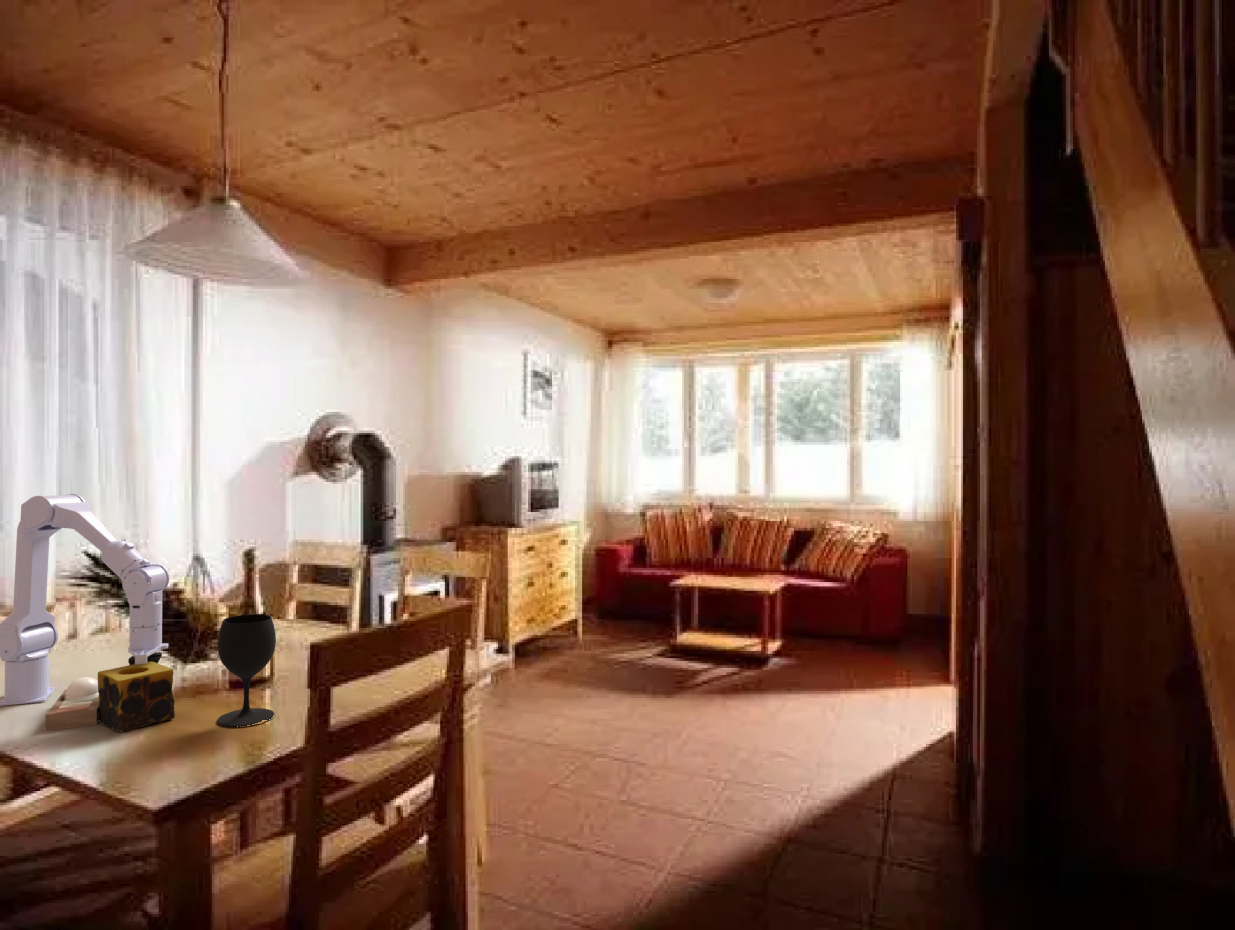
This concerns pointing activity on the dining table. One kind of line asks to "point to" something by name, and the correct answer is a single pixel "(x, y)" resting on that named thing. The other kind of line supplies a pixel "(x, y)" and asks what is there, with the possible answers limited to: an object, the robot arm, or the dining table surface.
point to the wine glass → (246, 660)
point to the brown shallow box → (72, 713)
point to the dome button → (82, 688)
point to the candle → (135, 696)
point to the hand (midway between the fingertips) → (145, 690)
